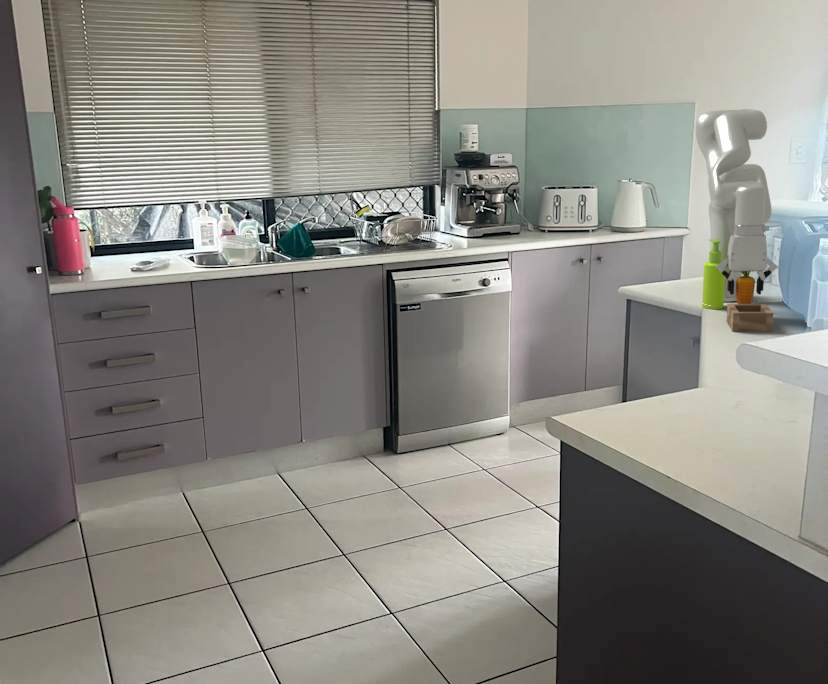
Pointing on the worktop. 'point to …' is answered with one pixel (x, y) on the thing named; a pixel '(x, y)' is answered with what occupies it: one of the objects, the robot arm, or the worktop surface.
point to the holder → (749, 317)
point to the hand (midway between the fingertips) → (744, 292)
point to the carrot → (745, 288)
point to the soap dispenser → (713, 279)
